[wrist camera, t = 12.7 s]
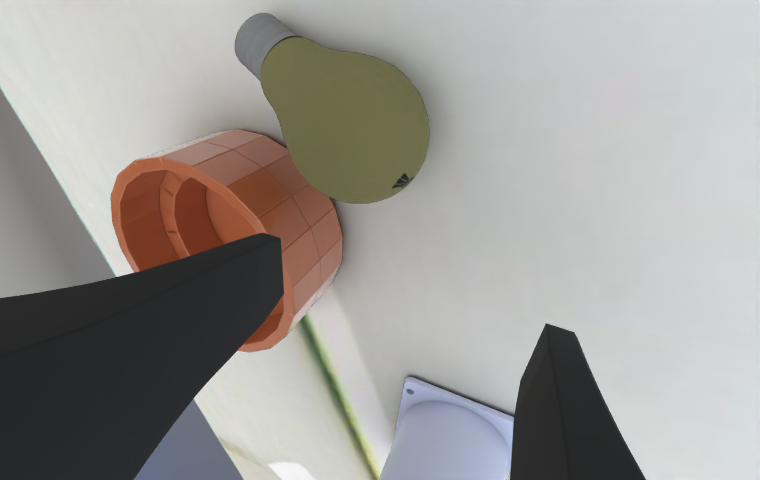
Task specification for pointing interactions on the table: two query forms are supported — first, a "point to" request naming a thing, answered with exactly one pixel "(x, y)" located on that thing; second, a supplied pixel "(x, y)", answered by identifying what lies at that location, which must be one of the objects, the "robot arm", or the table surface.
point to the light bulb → (338, 112)
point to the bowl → (230, 215)
